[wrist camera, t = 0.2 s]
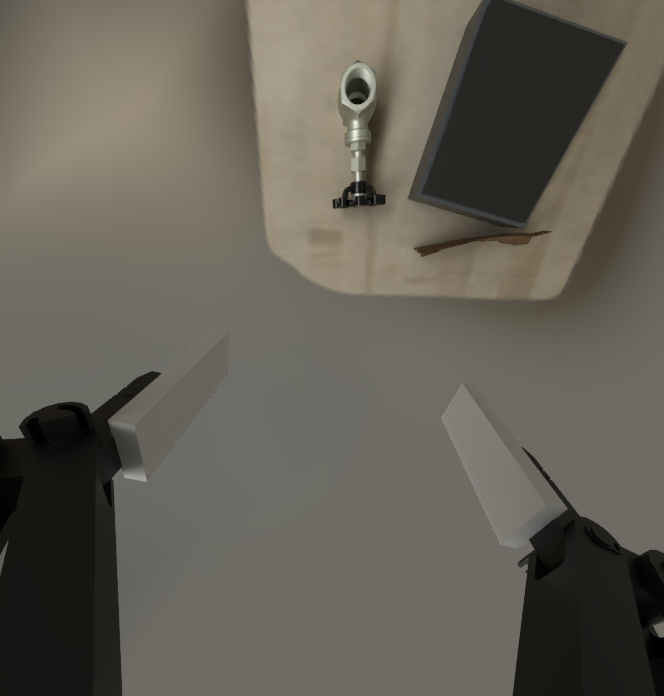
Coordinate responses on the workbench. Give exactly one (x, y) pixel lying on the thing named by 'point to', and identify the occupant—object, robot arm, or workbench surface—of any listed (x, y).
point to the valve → (358, 131)
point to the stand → (510, 111)
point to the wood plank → (504, 238)
